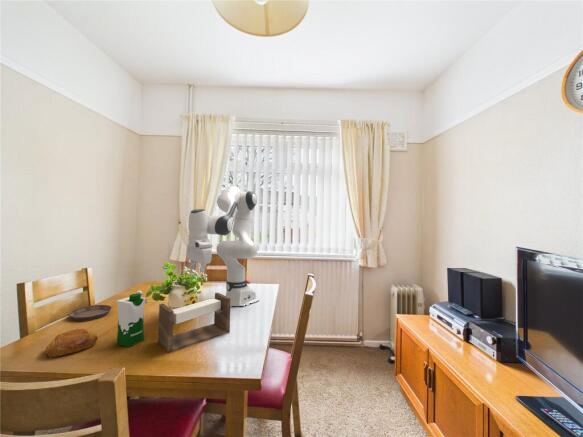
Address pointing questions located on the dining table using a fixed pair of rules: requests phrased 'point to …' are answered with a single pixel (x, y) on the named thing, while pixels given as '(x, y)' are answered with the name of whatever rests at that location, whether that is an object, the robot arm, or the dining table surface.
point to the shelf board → (195, 310)
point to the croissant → (71, 342)
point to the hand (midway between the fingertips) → (198, 270)
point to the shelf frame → (195, 335)
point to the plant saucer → (90, 312)
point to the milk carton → (130, 320)
